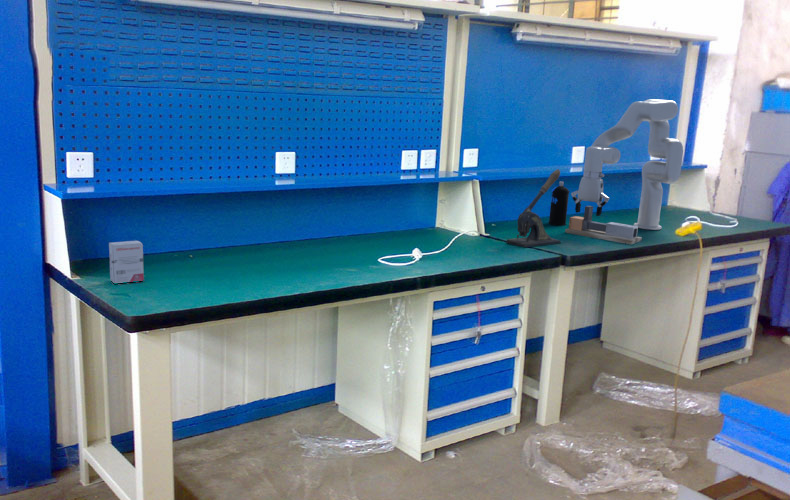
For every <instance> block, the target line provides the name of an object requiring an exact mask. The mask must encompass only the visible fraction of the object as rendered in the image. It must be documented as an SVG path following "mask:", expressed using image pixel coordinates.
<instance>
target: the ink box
mask: <svg viewBox="0 0 790 500" xmlns="http://www.w3.org/2000/svg"><path fill="white" fill-rule="evenodd" d="M143 247H144V245H143V243H142V242H141V241H140V240H126V241H116V242H115V241H114V242H108V251H109V254H108V255H109V256H108V257H109V277H110V278H109V279H110V280H111V281H112V282H113V283H123V282H133V281H143V280H144V281H145V277H144V274H145V273H144V251H143V250H144V248H143ZM111 281H110V282H111ZM144 281H143V282H144ZM112 282H111V283H112ZM113 283H112V284H113Z"/></svg>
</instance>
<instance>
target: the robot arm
mask: <svg viewBox="0 0 790 500" xmlns="http://www.w3.org/2000/svg"><path fill="white" fill-rule="evenodd" d="M678 113H679V107H678V103H676V101H674V100H669V99H668V100H667V99H655V98H653V99H652V98H649V99H646V100H643V101H641V100H639V101H634V102H632V103H631V104H630V105H629V106H628V108H627V109H626V111H624V113H623V115H622V116H621V117H620V119H619V120H618V122H617V123H616V124H615V125H614V126H612V127H610V128H609V129H607V130H605V131H604V132H602V133H601V134H600V135H598V137H596V139H595V140H594V142H593V143H592V144H591V146H588V147H587V148H586V150H585V157H584V158H585V159H584V167H583V176H582V177H581V178H580V181H579V186H578V190H575V191H572V192H571V193H570V194H571V196H572V200H573V202H574V204H575V207H574V209H575V213H580V212H581V207H582V204H581V202H582V201H585V202H592V203H596V204H597V207H596V213H595V216H596V217H599V216H601V214H602V213H603V207H604V206H605V205H606V204H607V203H608V202H609V200H610V197H609V196H607V195H606V194H605V193H604V180H603V179H602V178H604V177H605V174H604V173H603V172H602V171H603V166H604V165H603V164H607V165H614V164H617V163H618V162H619V161H620V159H621V151H620V150H619V149H618V148H616V147H613V146H610V145H611V144H614V143H616V142H619V141H623V140H626V139H629V138H632V136H633V135H634V134H635V133H636V131H637V130H638V128H639V127H640V125H642V123H643V122H648V123H649V137H648V145H647V146H648V147H647V154H648V155H649V156H650V157H651V158H655V159H661V160H665V161H661V160H647V161H646V162H645V163H644V164H643V165H642V169H641V179H642V180H641V182H642V184H641V192H640V194H641V195H640V201H639V209H638V218H637V222H634V223H633V226H638V229H642V230H652V231H658V230H662V225H660V220H661V219H660V216H661V208H662V202H663V196H664V195H663V194H664V189H663V185H662V183H663V184H668V185H673V184H676V183H677V182H678V181H679V179H680V176H681V171H682V164H683V163H682V162H683V155H684V146H683V143H682V141H680V140H679V139H676V138H670V123H669V121H672V120H673V119H675V117H676V116H677V115H678ZM576 195H577V196H576Z"/></svg>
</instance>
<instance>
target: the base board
mask: <svg viewBox="0 0 790 500" xmlns="http://www.w3.org/2000/svg"><path fill="white" fill-rule="evenodd" d="M565 234H572V235H577V236H582V237H587V238H592V239H599V240H605V241H609V242H614V243H619V244H620V243H621V244H625V243H626V244H627V245H633V244H637V243H639V242H641V241H642V239H643V236H637V238H635V239H627V238H621V237H615V236H610V235H605V232H601V231H595V230H587V231H586V230H582V231H581V230H575V229H569V227H568V228H565Z"/></svg>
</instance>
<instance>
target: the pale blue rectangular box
mask: <svg viewBox="0 0 790 500" xmlns="http://www.w3.org/2000/svg"><path fill="white" fill-rule="evenodd" d="M605 224H606V232H605V235H610V236H615V237H621V238H627V239H635V238H637V237H638V229H639V228H638V226H634V225H632V224H625V223H620V222H613V221H610V222H607V223H605Z"/></svg>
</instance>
